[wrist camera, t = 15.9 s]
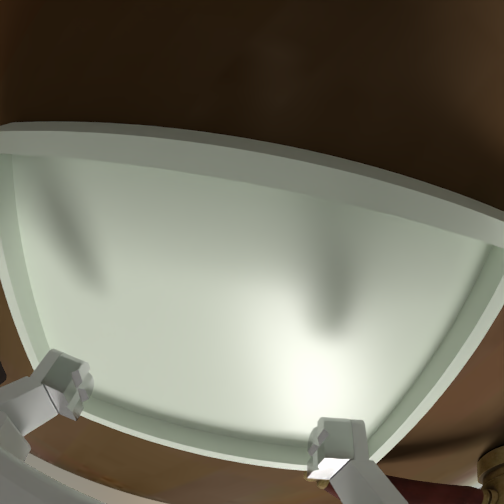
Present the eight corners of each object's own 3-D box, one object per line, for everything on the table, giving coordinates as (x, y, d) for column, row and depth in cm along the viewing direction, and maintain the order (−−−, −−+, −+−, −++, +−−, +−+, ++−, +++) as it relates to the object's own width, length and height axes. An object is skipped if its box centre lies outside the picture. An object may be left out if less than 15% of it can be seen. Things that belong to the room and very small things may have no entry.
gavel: (311, 431, 22) (271, 539, 14) (332, 401, 20) (292, 529, 12) (498, 469, 18) (497, 554, 9) (529, 444, 15) (536, 535, 7)
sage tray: (507, 212, 9) (536, 235, 7) (363, 445, 16) (366, 472, 14) (13, 122, 9) (-22, 132, 8) (62, 379, 17) (48, 400, 15)
